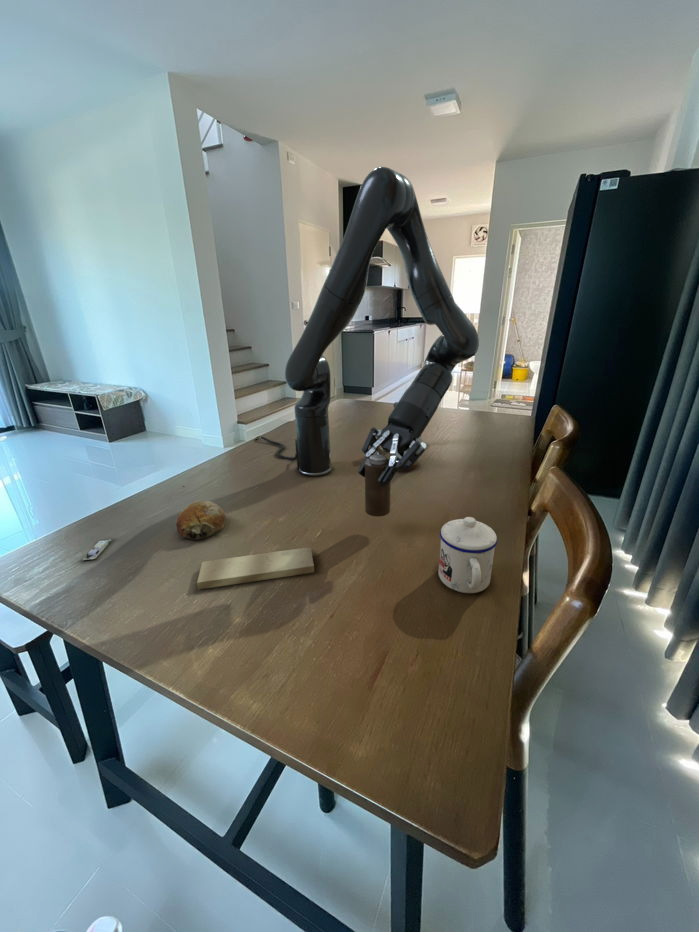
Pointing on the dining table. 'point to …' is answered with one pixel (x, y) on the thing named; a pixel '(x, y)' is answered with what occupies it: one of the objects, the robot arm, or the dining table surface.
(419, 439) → the food container
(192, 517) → the bread roll
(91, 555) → the granola bar
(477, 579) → the teacup with lid
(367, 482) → the pepper mill
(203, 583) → the serving board
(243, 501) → the dining table surface
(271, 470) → the dining table surface
